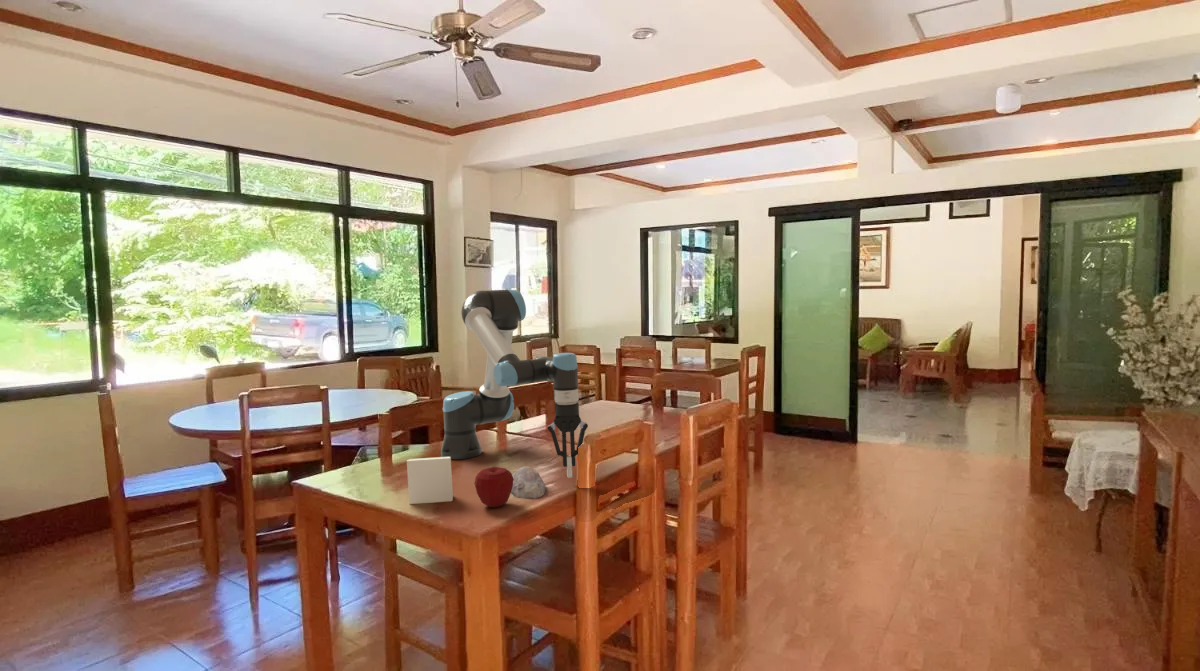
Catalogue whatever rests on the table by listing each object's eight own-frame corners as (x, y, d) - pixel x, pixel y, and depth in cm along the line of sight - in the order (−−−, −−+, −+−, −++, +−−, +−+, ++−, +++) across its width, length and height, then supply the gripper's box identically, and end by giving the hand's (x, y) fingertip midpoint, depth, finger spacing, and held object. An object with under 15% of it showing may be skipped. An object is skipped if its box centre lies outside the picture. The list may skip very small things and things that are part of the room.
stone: (533, 517, 188) (556, 491, 189) (509, 497, 185) (531, 471, 187) (524, 499, 204) (544, 475, 206) (501, 481, 202) (522, 456, 203)
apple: (472, 513, 177) (470, 472, 176) (479, 500, 188) (477, 461, 187) (512, 511, 177) (510, 470, 176) (516, 499, 188) (515, 460, 187)
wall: (410, 502, 188) (407, 459, 187) (452, 499, 189) (450, 457, 188) (409, 504, 186) (406, 460, 185) (452, 501, 188) (450, 458, 187)
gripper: (546, 405, 193) (549, 481, 195) (588, 403, 195) (591, 478, 196) (545, 401, 201) (548, 474, 202) (586, 399, 202) (589, 471, 204)
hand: (569, 476), depth 199 cm, fingers closed
